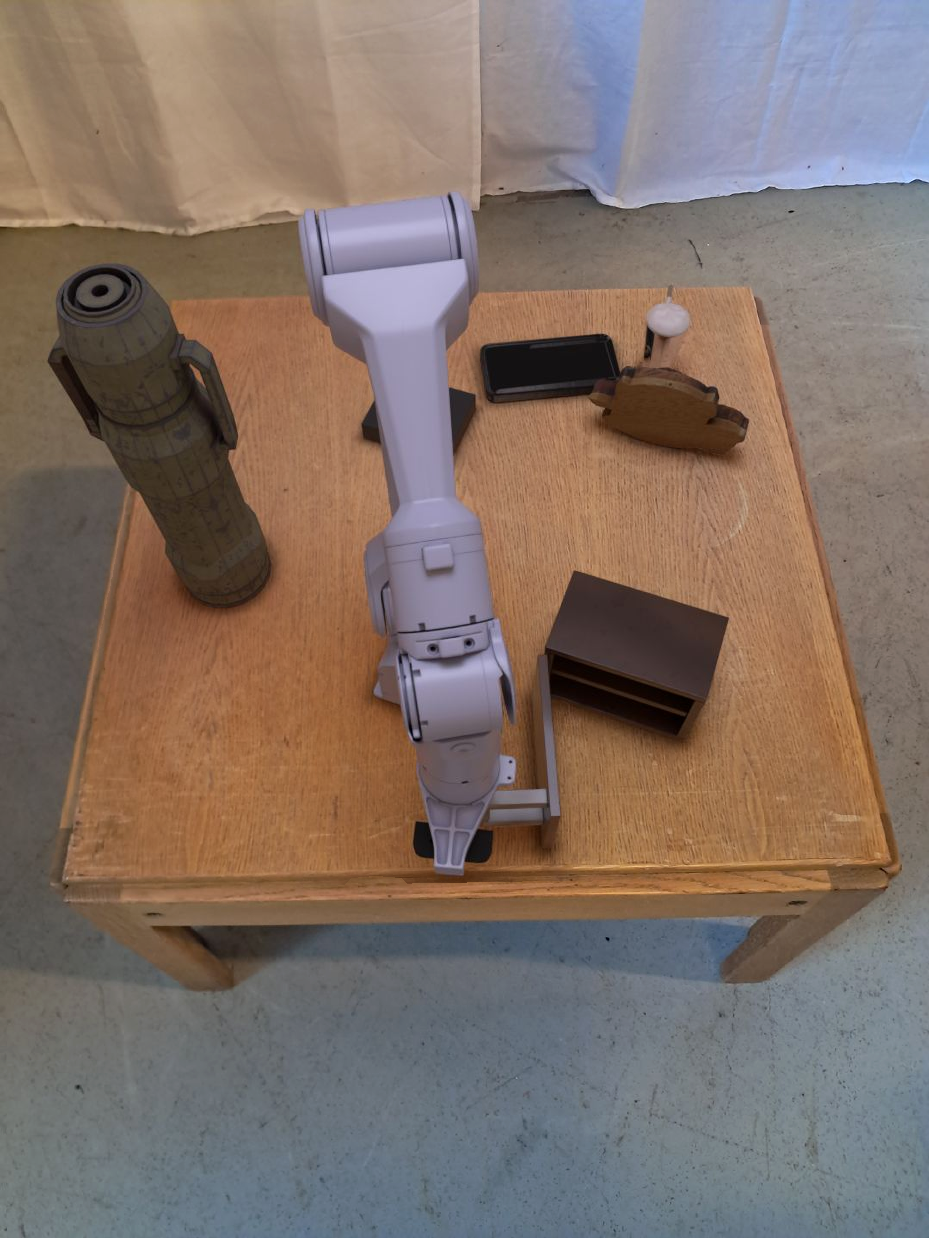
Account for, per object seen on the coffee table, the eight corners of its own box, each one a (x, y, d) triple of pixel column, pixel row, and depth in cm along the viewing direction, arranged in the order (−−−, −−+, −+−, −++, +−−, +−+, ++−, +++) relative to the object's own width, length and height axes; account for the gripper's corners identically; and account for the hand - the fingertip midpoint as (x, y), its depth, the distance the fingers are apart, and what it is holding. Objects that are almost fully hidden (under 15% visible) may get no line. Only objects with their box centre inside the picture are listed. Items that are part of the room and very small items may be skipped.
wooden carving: (740, 436, 98) (766, 369, 89) (735, 469, 95) (761, 403, 87) (588, 408, 100) (599, 340, 91) (580, 440, 98) (591, 373, 89)
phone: (623, 383, 100) (487, 396, 99) (621, 391, 101) (487, 403, 100) (609, 332, 103) (479, 343, 103) (608, 339, 104) (478, 350, 104)
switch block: (476, 409, 100) (476, 383, 96) (449, 464, 96) (448, 439, 93) (392, 386, 102) (389, 360, 98) (363, 438, 98) (359, 413, 95)
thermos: (173, 534, 92) (22, 245, 62) (290, 532, 92) (196, 241, 62) (160, 610, 88) (-8, 340, 58) (282, 608, 88) (178, 337, 57)
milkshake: (675, 355, 103) (693, 285, 95) (675, 391, 101) (694, 322, 92) (634, 353, 104) (649, 282, 95) (634, 388, 101) (649, 319, 92)
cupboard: (683, 742, 81) (707, 699, 73) (538, 694, 83) (544, 646, 75) (704, 666, 85) (729, 617, 76) (564, 622, 87) (573, 569, 79)
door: (476, 850, 76) (475, 819, 68) (470, 702, 83) (469, 657, 75) (552, 848, 77) (561, 816, 68) (540, 699, 83) (547, 654, 75)
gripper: (509, 857, 57) (504, 902, 69) (525, 651, 64) (517, 724, 76) (398, 846, 57) (411, 892, 69) (425, 642, 64) (433, 716, 76)
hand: (461, 804), depth 73 cm, fingers open, 7 cm apart
